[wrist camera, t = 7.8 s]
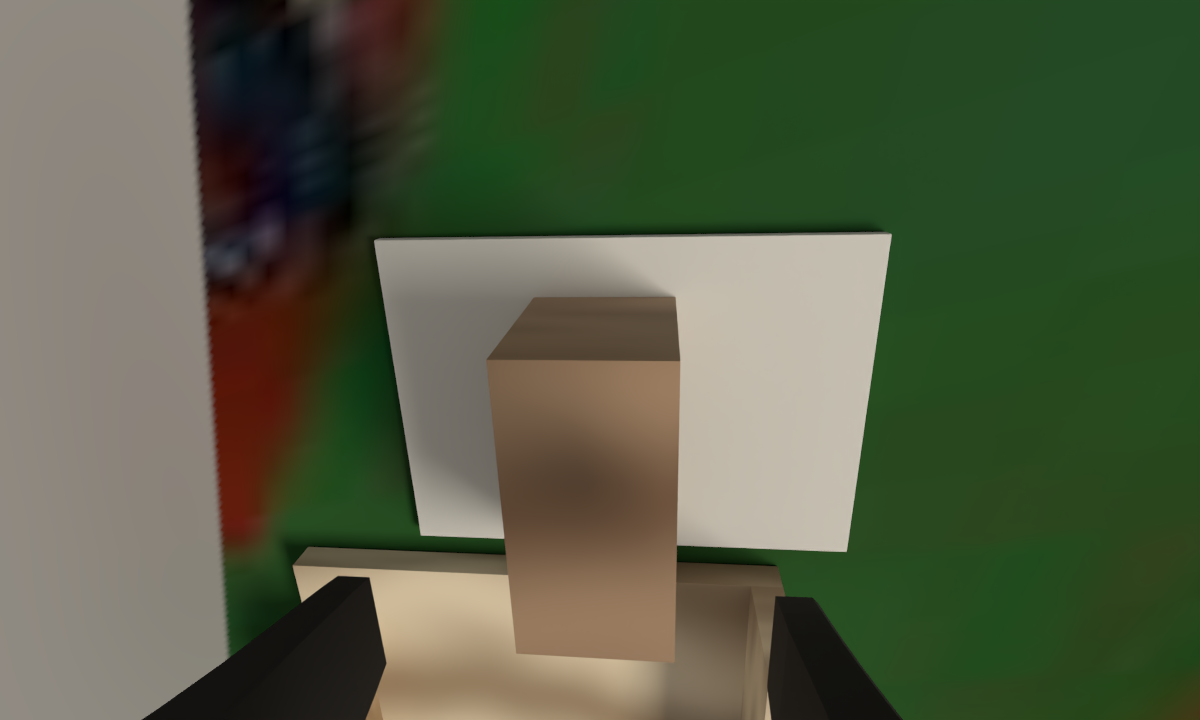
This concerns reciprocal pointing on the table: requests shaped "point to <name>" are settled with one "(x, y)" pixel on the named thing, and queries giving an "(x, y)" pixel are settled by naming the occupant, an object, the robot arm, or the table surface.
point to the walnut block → (590, 474)
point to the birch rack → (552, 683)
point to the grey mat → (707, 368)
